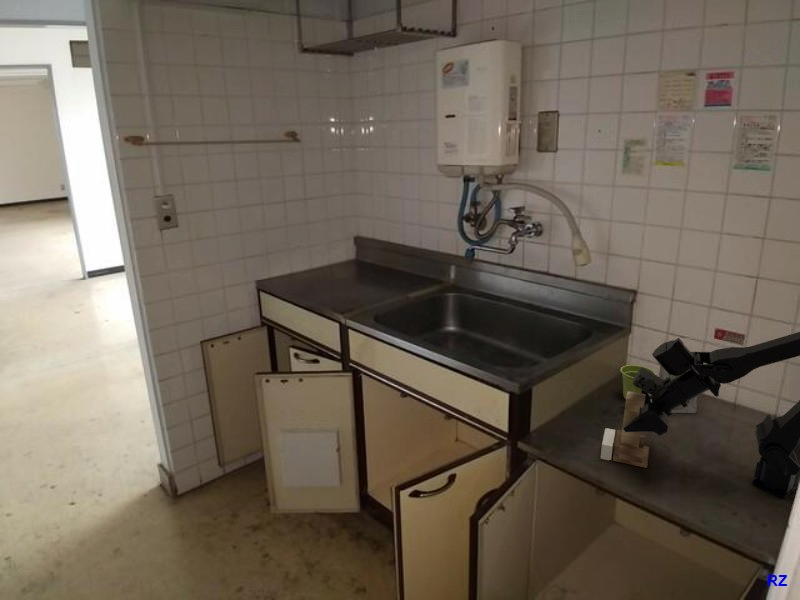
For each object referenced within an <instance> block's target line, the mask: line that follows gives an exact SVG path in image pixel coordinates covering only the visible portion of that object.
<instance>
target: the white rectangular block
mask: <svg viewBox="0 0 800 600" xmlns="http://www.w3.org/2000/svg"><path fill="white" fill-rule="evenodd" d="M615 440H616V429H612V428H608V427H607V428H605V429H604V433H603V438H602V443H601V451H600V460H605V461H609V460H611V461H612V459H613V453H614V446H615Z"/></svg>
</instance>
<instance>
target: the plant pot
mask: <svg viewBox="0 0 800 600" xmlns="http://www.w3.org/2000/svg"><path fill="white" fill-rule="evenodd" d="M640 368H644V369H646V370H648V371H650V372H652V373H653V374H655V375H657V374H656V372H655V371H654V369H653V370H652V369H651V368H649V367H647V366H643V365H638V364H629V365H628V364H627V365H624V366H622V367H620V373H621V377H622V387H623V388H622V390H623V393H622V395H623V398H624V399H625V400H626V397H627V392H628V391H629V392H635V393H640V394H641V392H642V389H640V388H637V387H636V386H634V385H633V381H634V379H633V378H634V377H635V375H636V374H637V372H638V371H639V370H640Z"/></svg>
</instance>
